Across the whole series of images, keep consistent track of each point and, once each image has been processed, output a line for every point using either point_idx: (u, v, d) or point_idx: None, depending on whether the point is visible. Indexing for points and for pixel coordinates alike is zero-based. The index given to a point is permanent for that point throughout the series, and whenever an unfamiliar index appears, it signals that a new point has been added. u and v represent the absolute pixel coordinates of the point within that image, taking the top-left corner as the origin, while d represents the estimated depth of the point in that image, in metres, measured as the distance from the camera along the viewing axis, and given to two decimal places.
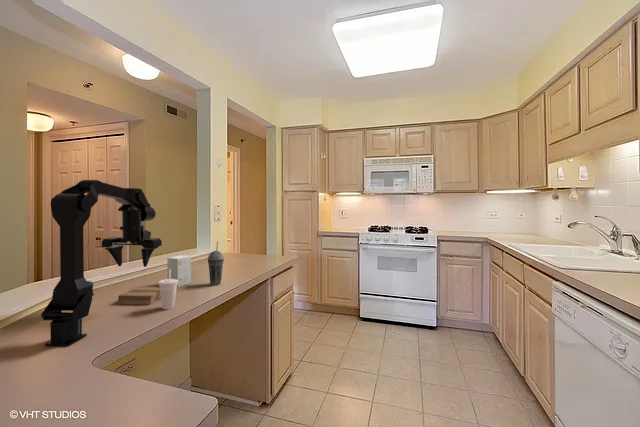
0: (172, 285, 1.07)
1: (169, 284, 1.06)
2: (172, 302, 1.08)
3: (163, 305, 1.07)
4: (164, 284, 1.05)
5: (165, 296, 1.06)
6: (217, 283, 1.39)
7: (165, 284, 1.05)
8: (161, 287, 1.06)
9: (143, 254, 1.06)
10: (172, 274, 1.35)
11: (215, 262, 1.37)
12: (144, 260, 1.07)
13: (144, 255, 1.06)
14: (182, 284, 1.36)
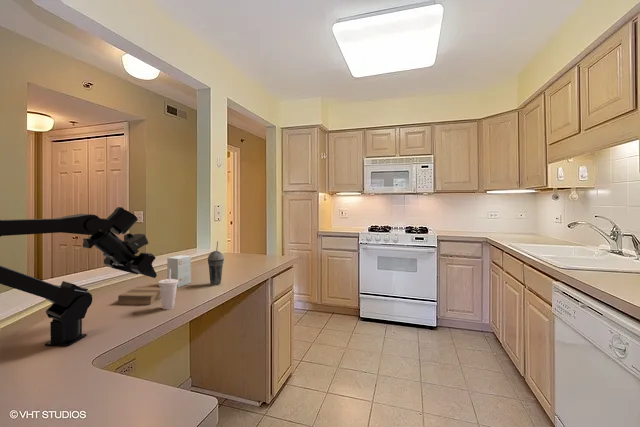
0: (172, 285, 1.07)
1: (169, 284, 1.06)
2: (172, 302, 1.08)
3: (163, 305, 1.07)
4: (164, 284, 1.05)
5: (165, 296, 1.06)
6: (217, 283, 1.39)
7: (165, 284, 1.05)
8: (161, 287, 1.06)
9: (142, 274, 0.94)
10: (172, 274, 1.35)
11: (215, 262, 1.37)
12: None
13: (143, 274, 0.94)
14: (182, 284, 1.36)
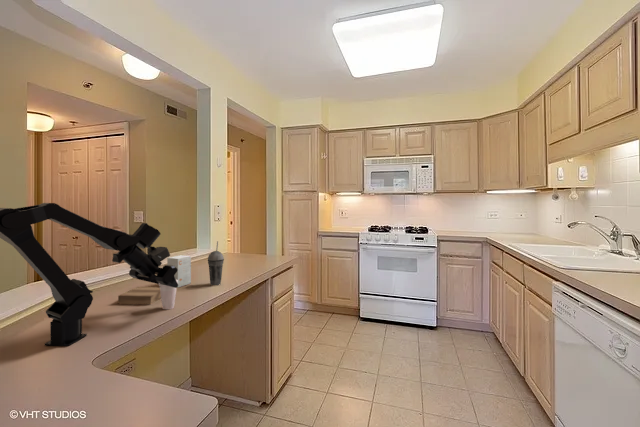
0: None
1: None
2: (172, 302, 1.08)
3: (163, 305, 1.07)
4: None
5: (165, 296, 1.06)
6: (217, 283, 1.39)
7: None
8: (161, 287, 1.06)
9: None
10: None
11: (215, 262, 1.37)
12: (171, 286, 1.03)
13: (167, 285, 1.02)
14: (182, 284, 1.36)
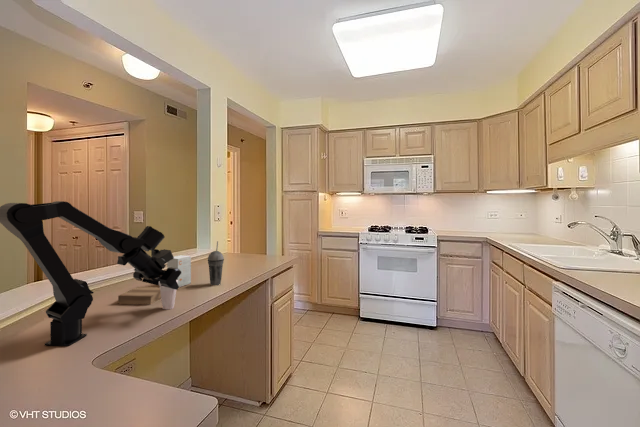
0: None
1: None
2: (172, 302, 1.08)
3: (163, 305, 1.07)
4: None
5: (165, 296, 1.06)
6: (217, 283, 1.39)
7: None
8: (161, 287, 1.06)
9: None
10: None
11: (215, 262, 1.37)
12: (172, 288, 1.05)
13: (168, 287, 1.03)
14: (182, 284, 1.36)
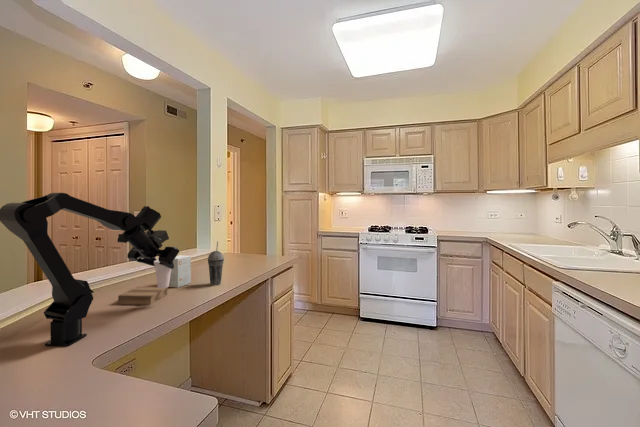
0: None
1: None
2: (167, 281, 1.11)
3: (159, 284, 1.10)
4: None
5: (161, 275, 1.09)
6: (217, 283, 1.39)
7: None
8: (157, 266, 1.09)
9: (164, 265, 1.07)
10: (172, 274, 1.35)
11: (215, 262, 1.37)
12: (168, 267, 1.09)
13: (165, 265, 1.07)
14: (182, 284, 1.36)
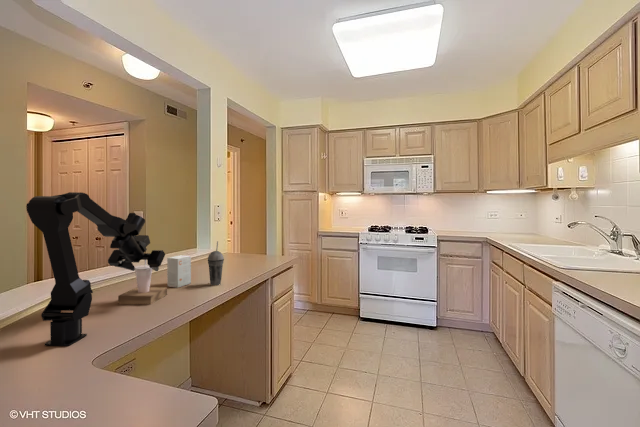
0: (150, 270, 1.16)
1: (148, 269, 1.15)
2: (149, 285, 1.17)
3: (140, 289, 1.15)
4: (143, 269, 1.14)
5: (143, 280, 1.15)
6: (217, 283, 1.39)
7: (144, 269, 1.14)
8: (139, 272, 1.14)
9: (152, 268, 1.14)
10: (172, 274, 1.35)
11: (215, 262, 1.37)
12: (155, 269, 1.16)
13: (154, 268, 1.14)
14: (182, 284, 1.36)
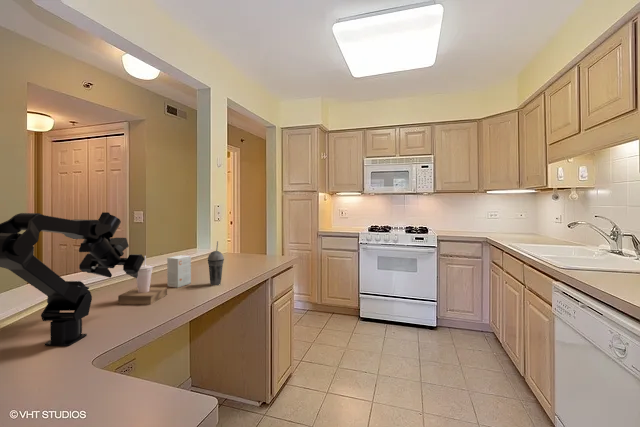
0: (150, 270, 1.16)
1: (148, 269, 1.15)
2: (149, 285, 1.17)
3: (140, 289, 1.15)
4: (143, 269, 1.14)
5: (143, 280, 1.15)
6: (217, 283, 1.39)
7: (144, 269, 1.14)
8: (139, 272, 1.14)
9: (130, 274, 1.01)
10: (172, 274, 1.35)
11: (215, 262, 1.37)
12: (133, 276, 1.03)
13: (131, 275, 1.01)
14: (182, 284, 1.36)
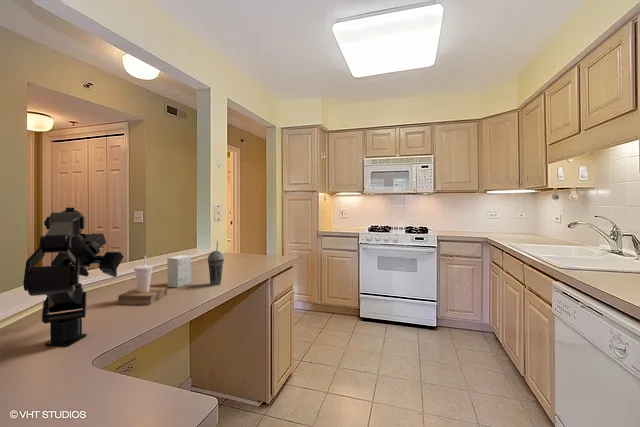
0: (150, 270, 1.16)
1: (148, 269, 1.15)
2: (149, 285, 1.17)
3: (140, 289, 1.15)
4: (143, 269, 1.14)
5: (143, 280, 1.15)
6: (217, 283, 1.39)
7: (144, 269, 1.14)
8: (139, 272, 1.14)
9: (107, 273, 0.94)
10: (172, 274, 1.35)
11: (215, 262, 1.37)
12: (111, 275, 0.96)
13: (109, 274, 0.94)
14: (182, 284, 1.36)
